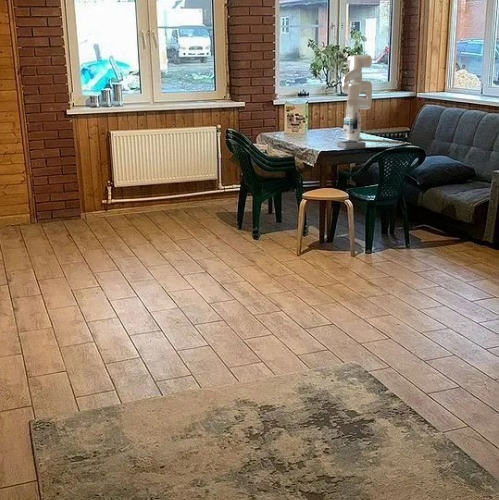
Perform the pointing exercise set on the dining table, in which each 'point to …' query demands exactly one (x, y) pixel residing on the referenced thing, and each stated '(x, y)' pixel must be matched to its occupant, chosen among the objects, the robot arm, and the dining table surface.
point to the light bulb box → (351, 126)
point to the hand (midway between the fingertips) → (352, 128)
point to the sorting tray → (351, 144)
